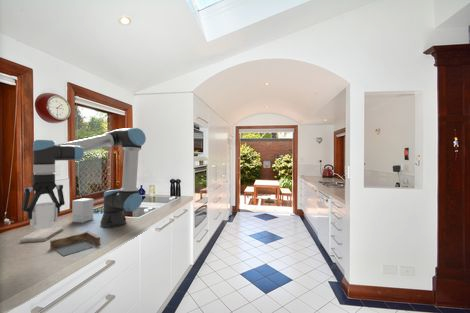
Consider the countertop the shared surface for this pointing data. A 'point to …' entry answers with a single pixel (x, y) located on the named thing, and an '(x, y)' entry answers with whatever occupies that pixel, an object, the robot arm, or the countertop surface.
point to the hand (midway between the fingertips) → (44, 223)
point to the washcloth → (41, 235)
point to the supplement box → (82, 210)
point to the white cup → (44, 214)
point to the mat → (73, 248)
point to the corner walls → (75, 239)
